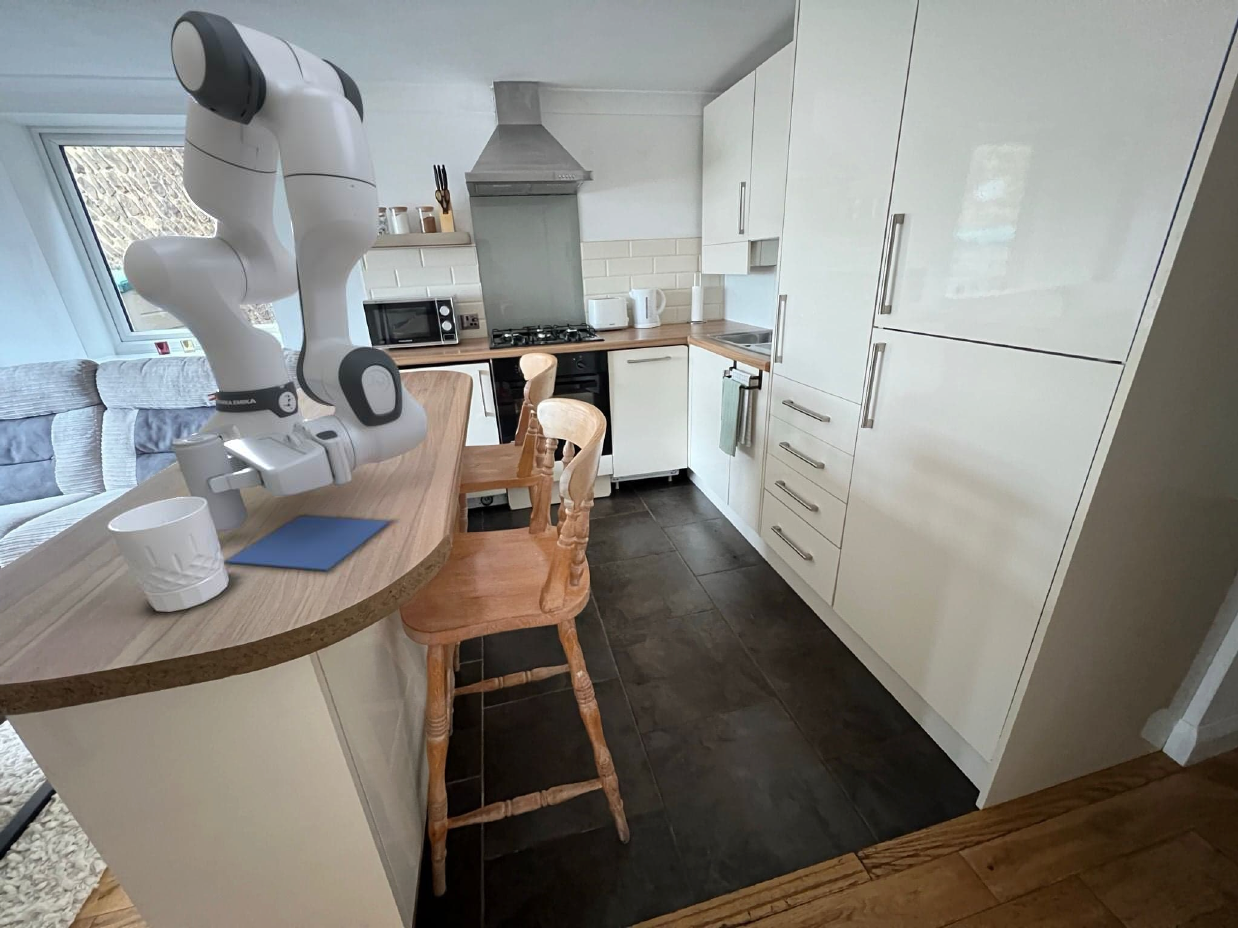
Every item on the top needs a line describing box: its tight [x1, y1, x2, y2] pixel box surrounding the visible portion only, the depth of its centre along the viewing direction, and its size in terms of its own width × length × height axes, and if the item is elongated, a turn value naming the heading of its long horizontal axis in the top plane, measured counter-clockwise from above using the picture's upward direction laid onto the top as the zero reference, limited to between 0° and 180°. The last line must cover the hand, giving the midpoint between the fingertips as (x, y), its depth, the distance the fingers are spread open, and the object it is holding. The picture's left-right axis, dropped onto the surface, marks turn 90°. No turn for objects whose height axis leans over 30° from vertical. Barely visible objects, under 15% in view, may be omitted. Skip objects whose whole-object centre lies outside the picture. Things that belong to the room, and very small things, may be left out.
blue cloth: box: [225, 515, 389, 572], centre depth 66 cm, size 14×12×1 cm
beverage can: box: [171, 433, 249, 533], centre depth 64 cm, size 5×5×12 cm
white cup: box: [107, 496, 230, 613], centre depth 54 cm, size 8×8×10 cm
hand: (202, 480), depth 63 cm, fingers closed on beverage can, 5 cm apart
